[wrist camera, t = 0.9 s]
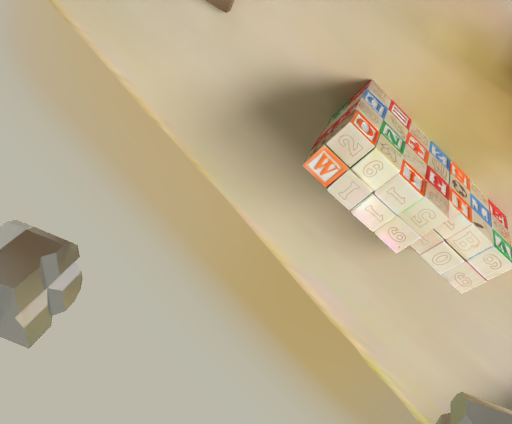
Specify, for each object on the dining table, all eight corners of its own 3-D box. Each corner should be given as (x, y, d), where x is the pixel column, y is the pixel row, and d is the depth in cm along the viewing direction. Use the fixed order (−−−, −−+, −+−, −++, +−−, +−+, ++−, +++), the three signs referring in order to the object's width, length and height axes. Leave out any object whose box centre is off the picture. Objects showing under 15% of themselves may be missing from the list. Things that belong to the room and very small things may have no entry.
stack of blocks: (508, 215, 50) (521, 289, 40) (459, 243, 54) (459, 317, 44) (371, 77, 47) (349, 121, 38) (329, 117, 51) (300, 166, 41)
